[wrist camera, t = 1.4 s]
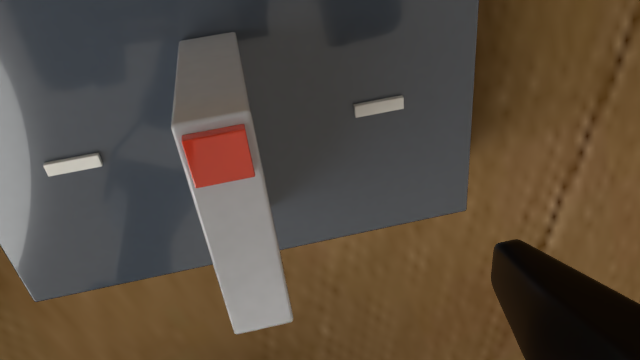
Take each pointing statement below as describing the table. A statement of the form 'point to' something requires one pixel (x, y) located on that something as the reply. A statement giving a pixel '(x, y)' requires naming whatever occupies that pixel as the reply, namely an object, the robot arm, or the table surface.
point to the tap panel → (269, 117)
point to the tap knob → (229, 181)
